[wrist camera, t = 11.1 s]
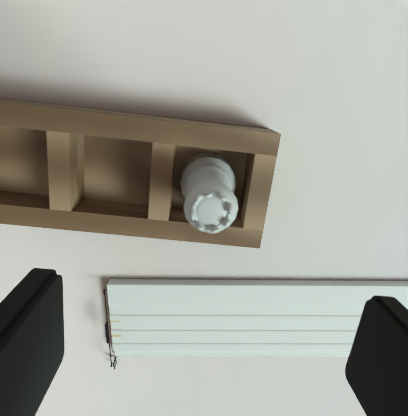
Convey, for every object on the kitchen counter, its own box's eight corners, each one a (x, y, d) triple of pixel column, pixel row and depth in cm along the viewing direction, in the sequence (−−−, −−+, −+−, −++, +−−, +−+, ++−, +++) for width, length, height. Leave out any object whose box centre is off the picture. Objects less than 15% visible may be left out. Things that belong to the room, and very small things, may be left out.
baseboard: (408, 360, 34) (431, 277, 31) (425, 383, 31) (453, 294, 28) (117, 361, 33) (110, 275, 30) (110, 384, 31) (101, 292, 27)
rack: (252, 230, 28) (259, 248, 25) (-19, 203, 27) (-49, 218, 24) (270, 129, 25) (280, 134, 22) (-32, 94, 24) (-68, 94, 21)
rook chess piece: (208, 139, 25) (213, 158, 18) (247, 180, 26) (266, 214, 19) (168, 178, 26) (156, 212, 19) (206, 216, 27) (209, 262, 20)
